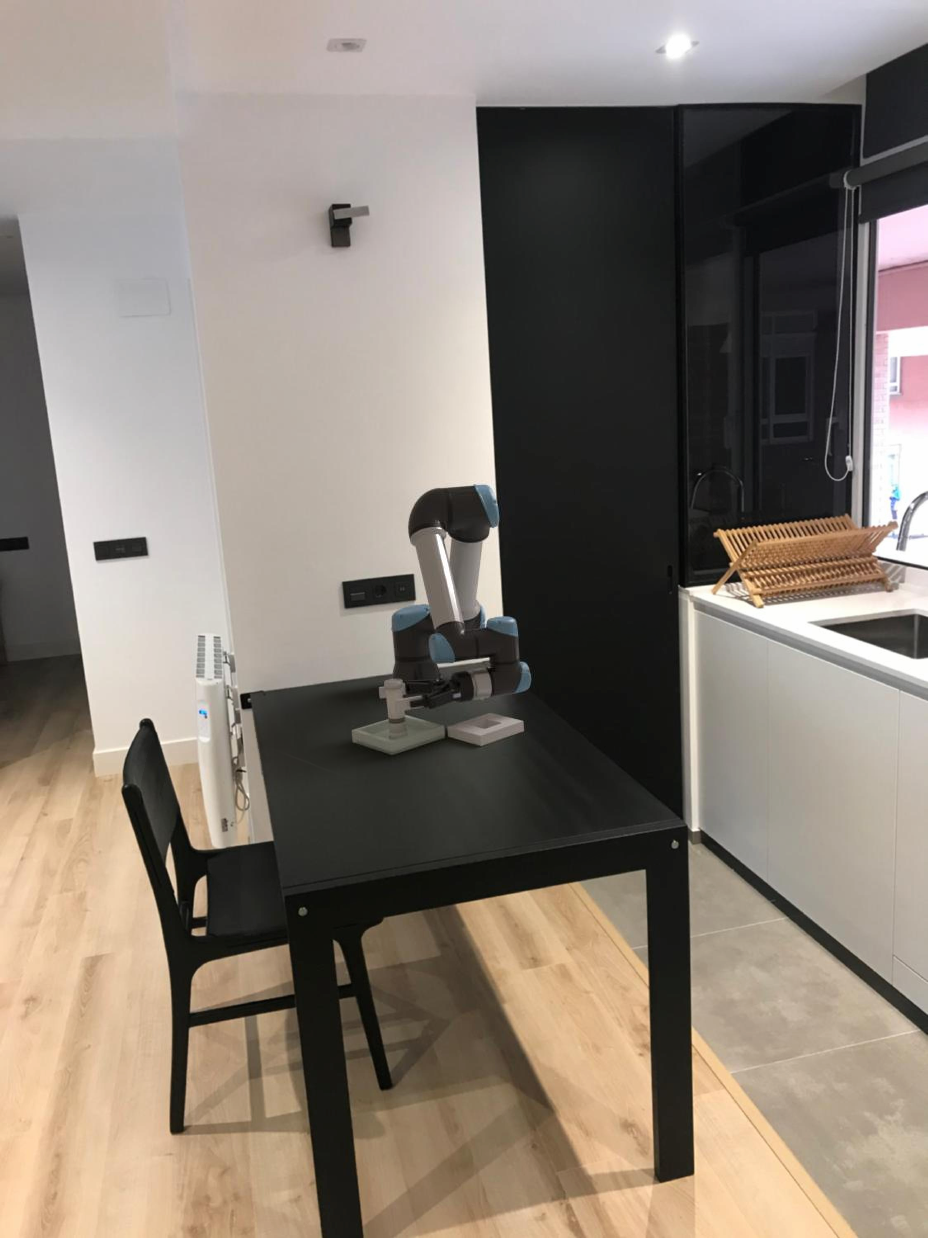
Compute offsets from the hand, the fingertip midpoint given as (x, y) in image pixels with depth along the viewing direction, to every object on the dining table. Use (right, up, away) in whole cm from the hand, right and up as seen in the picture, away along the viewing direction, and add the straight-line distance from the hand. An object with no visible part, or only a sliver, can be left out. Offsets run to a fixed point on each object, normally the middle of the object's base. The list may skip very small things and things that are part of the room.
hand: (387, 699), depth 241 cm
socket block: (+24, -9, +2) cm, 25 cm away
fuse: (+2, -9, +2) cm, 10 cm away
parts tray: (+3, -10, +3) cm, 11 cm away
